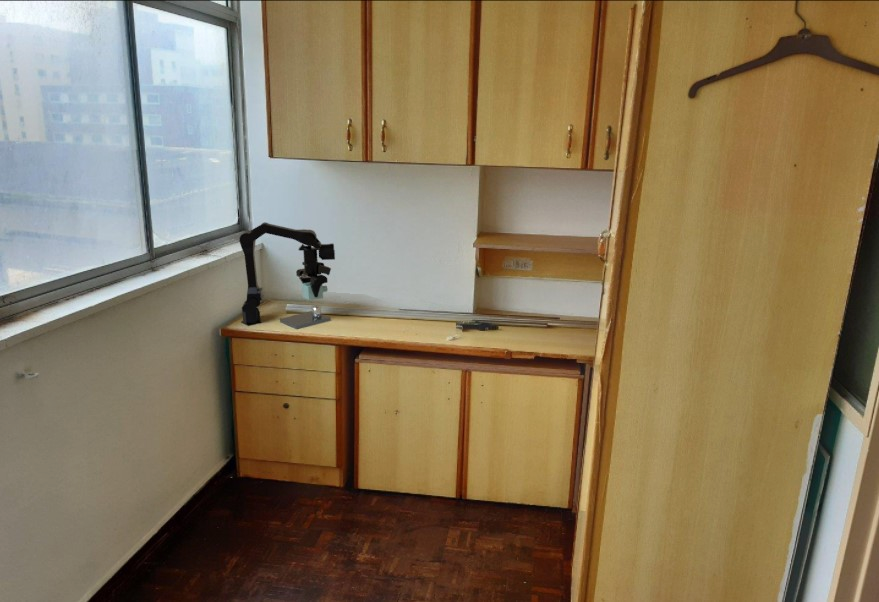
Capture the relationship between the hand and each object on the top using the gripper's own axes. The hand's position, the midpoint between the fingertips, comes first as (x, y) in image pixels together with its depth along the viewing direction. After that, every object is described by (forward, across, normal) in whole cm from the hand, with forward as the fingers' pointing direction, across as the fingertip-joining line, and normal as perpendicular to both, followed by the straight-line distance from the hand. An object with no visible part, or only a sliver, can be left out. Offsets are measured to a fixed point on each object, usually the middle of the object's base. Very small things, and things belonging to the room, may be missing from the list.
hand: (312, 295), depth 277 cm
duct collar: (+1, 0, -2) cm, 2 cm away
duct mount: (+12, +1, +4) cm, 12 cm away
